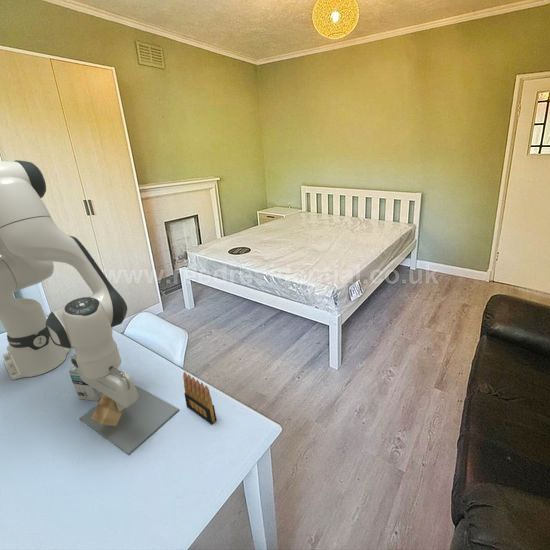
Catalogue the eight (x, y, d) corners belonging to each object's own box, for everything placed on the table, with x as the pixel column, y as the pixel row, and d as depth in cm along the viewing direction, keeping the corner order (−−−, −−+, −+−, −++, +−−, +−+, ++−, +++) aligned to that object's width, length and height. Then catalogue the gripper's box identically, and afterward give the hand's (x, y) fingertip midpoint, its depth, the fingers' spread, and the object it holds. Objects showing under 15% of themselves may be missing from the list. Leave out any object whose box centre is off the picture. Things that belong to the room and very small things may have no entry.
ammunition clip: (217, 420, 87) (211, 384, 82) (211, 424, 85) (205, 389, 81) (191, 402, 93) (185, 368, 88) (186, 406, 92) (179, 372, 87)
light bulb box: (97, 402, 95) (87, 372, 91) (77, 399, 97) (66, 370, 93) (120, 377, 105) (111, 349, 101) (102, 375, 106) (92, 347, 102)
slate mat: (79, 419, 90) (79, 417, 89) (130, 383, 102) (130, 382, 102) (128, 455, 78) (128, 453, 78) (179, 410, 91) (179, 409, 90)
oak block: (91, 418, 83) (106, 386, 85) (106, 418, 87) (120, 388, 89) (101, 425, 81) (116, 393, 83) (116, 425, 84) (130, 394, 86)
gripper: (137, 367, 77) (149, 411, 82) (90, 343, 88) (103, 383, 93) (113, 383, 72) (127, 429, 78) (65, 356, 83) (81, 398, 88)
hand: (114, 404), depth 85 cm, fingers closed on oak block, 4 cm apart
